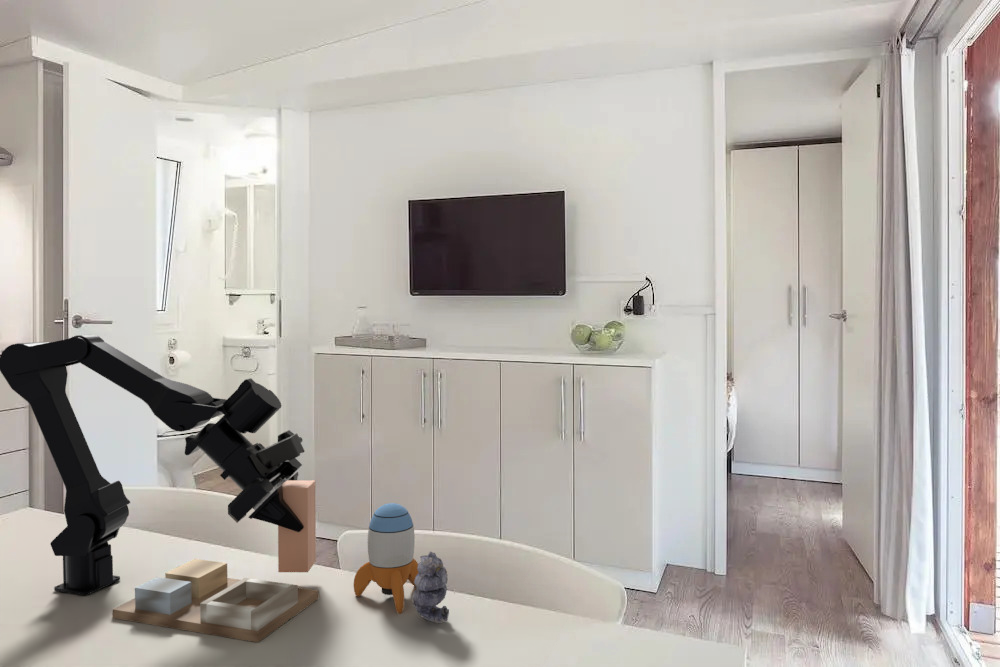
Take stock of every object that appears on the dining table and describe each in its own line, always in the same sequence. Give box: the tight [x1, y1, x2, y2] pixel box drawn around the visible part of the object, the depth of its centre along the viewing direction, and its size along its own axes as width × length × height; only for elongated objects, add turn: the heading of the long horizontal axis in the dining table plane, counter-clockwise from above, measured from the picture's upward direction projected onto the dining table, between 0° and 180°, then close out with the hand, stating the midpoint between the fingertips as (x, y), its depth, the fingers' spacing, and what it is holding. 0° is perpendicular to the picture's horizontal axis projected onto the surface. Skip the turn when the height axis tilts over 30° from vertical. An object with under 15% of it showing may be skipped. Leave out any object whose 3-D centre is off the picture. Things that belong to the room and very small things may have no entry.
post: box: [277, 479, 317, 573], centre depth 105 cm, size 4×4×13 cm
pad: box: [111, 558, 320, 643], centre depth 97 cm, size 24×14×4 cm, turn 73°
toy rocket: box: [353, 502, 419, 614], centre depth 100 cm, size 10×11×15 cm
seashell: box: [411, 551, 450, 624], centre depth 92 cm, size 5×5×10 cm
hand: (306, 524), depth 105 cm, fingers closed on post, 4 cm apart
